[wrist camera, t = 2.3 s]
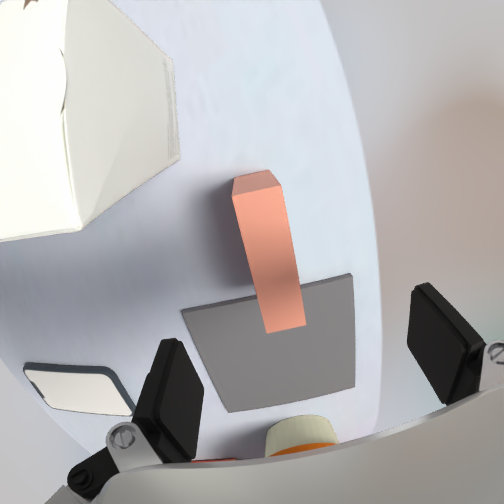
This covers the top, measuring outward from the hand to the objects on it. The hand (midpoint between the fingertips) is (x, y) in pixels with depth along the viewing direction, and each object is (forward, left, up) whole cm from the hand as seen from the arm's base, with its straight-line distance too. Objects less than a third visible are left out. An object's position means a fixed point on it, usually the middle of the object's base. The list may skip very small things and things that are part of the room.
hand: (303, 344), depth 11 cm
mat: (+13, -1, -13) cm, 18 cm away
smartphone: (+15, -28, -14) cm, 35 cm away
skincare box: (-11, -7, -13) cm, 19 cm away
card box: (0, -1, -13) cm, 13 cm away
